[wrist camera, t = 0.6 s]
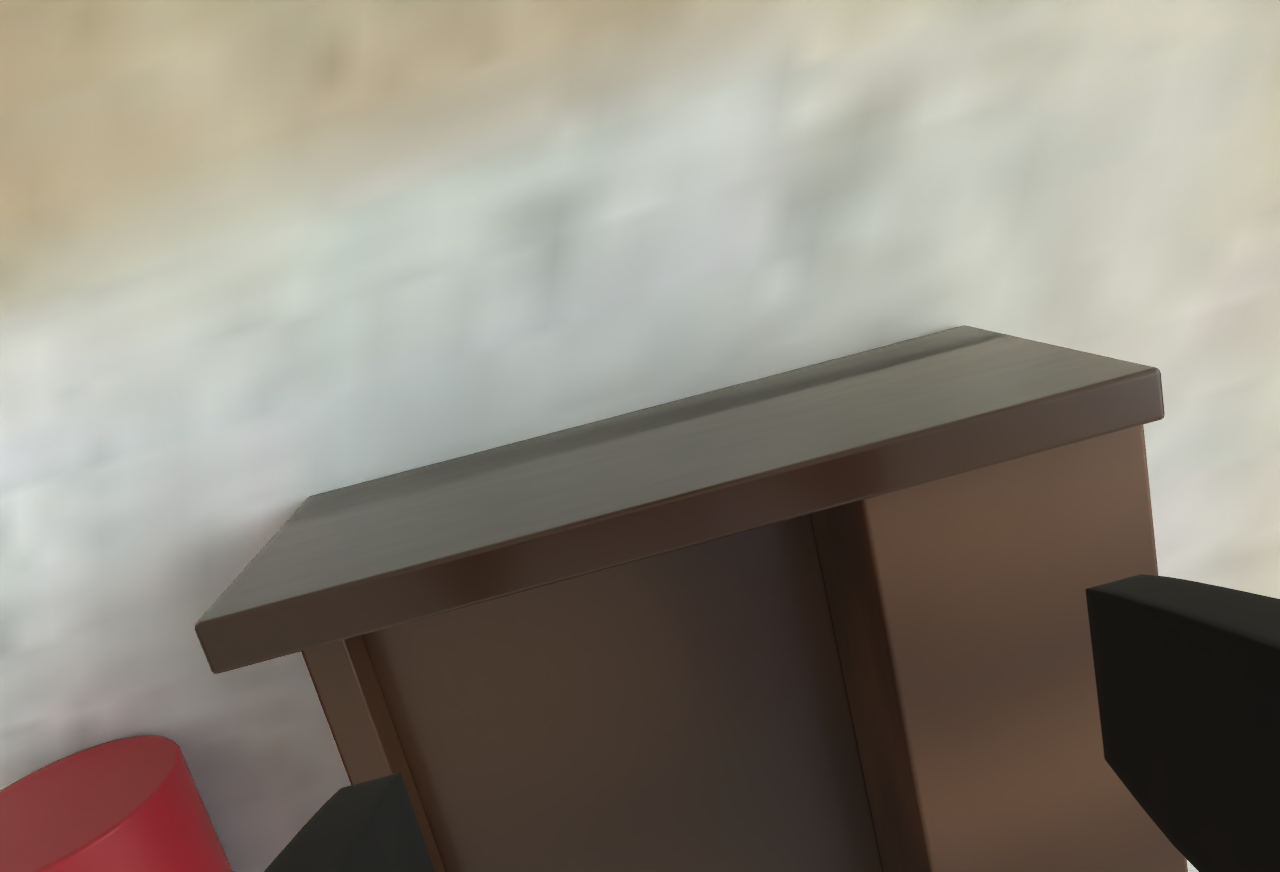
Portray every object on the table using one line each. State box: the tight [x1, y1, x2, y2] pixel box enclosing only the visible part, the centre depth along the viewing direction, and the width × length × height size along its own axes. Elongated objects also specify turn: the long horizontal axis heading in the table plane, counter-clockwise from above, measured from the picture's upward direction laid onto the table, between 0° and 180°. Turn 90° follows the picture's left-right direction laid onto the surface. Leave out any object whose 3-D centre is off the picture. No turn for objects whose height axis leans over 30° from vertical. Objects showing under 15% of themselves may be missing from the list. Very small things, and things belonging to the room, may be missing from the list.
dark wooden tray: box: [195, 326, 1188, 872], centre depth 17 cm, size 18×14×6 cm
